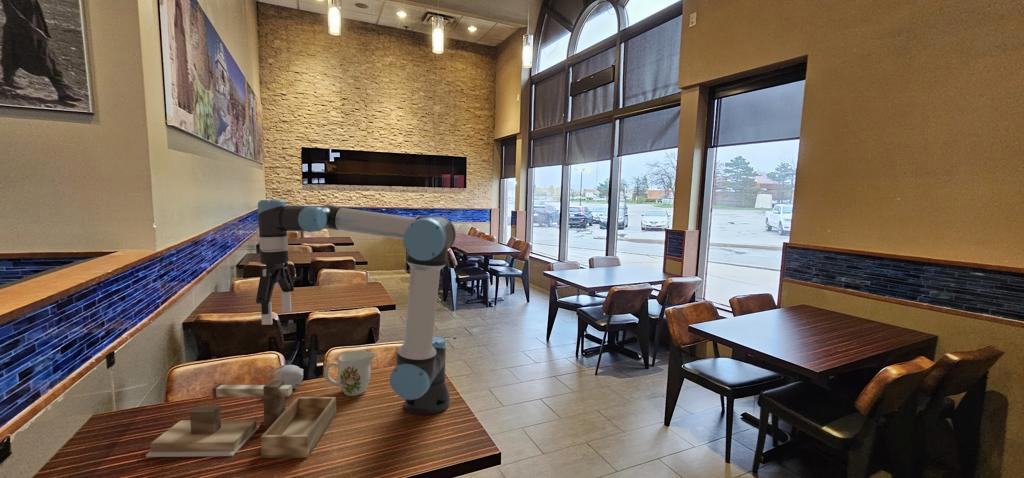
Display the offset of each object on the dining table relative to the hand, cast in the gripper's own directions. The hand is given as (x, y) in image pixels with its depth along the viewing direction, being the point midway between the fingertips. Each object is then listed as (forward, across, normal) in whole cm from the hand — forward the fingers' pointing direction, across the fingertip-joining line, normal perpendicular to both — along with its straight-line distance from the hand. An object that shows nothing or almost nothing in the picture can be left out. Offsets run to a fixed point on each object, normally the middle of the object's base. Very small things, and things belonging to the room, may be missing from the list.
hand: (277, 317), depth 132 cm
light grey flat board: (+31, +14, -14) cm, 37 cm away
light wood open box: (+32, +12, +7) cm, 35 cm away
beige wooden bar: (+23, +5, -6) cm, 24 cm away
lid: (+30, +14, -14) cm, 37 cm away
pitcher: (+32, -14, +18) cm, 39 cm away
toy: (+31, -18, -6) cm, 37 cm away
